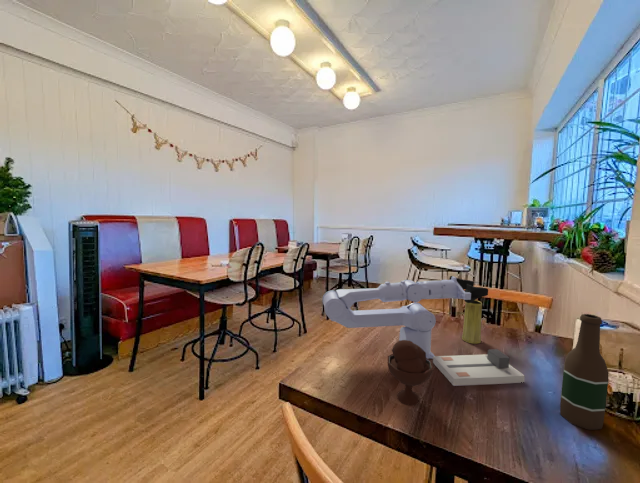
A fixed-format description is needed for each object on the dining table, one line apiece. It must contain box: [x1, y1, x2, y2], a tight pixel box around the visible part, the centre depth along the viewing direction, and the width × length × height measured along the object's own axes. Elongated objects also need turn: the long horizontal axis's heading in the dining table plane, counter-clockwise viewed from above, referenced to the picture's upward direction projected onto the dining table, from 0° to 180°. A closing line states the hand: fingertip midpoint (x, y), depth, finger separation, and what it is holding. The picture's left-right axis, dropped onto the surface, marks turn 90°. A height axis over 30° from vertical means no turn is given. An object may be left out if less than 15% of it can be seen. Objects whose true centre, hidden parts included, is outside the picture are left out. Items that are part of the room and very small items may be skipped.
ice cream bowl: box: [386, 340, 434, 406], centre depth 73 cm, size 11×11×15 cm
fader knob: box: [487, 348, 510, 368], centre depth 85 cm, size 3×5×3 cm, turn 5°
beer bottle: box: [559, 313, 609, 431], centre depth 65 cm, size 8×8×24 cm
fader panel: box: [432, 353, 526, 387], centre depth 85 cm, size 20×12×2 cm, turn 95°
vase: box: [461, 299, 483, 345], centre depth 105 cm, size 6×6×14 cm
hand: (480, 287), depth 95 cm, fingers open, 7 cm apart
